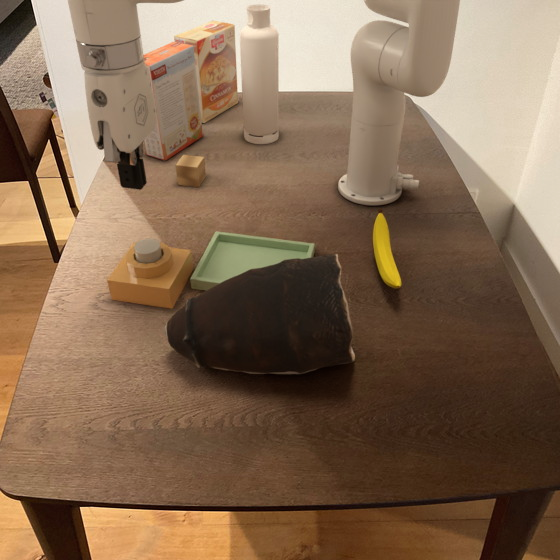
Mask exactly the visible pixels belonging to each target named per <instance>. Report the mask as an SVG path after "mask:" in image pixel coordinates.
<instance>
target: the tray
mask: <svg viewBox="0 0 560 560" xmlns="http://www.w3.org/2000/svg"><path fill="white" fill-rule="evenodd" d="M315 247H316V243H313V242H306V241H305V242H303V241H297V240H287V239H281V238H275V237H274V238H272V237H265V236H257V235H249V234H241V233H233V232H226V231H225V232H224V231H217V230H216V231H215V232H214V234H213V235H212V237H211V239H210V241H209V242H208V245H207V247H206V249H205V250H204V252H203V254H202V255H201V258H200V260H199V262H198V264H197V265H196V267H195V269H194V270H193V272H192V273H191V275H190V277H189V281H190V289H192V290H199V291H204V292H205V291H207V290H208V289H210V288H212V287H214V286H216V285H218V284H220V283H221V282H223V281H225V280H227V279H230V278H232V277H234V276H237V275H240V274H242V273H244V272H246V271H248V270H250V269H255V268H262V267H266V266H270V265H274V264H277V263H280V262H282V261H283V260H287V259H296V258H300V259H305V258H312V257H315V256H314V255H315V251H316V250H315Z"/></svg>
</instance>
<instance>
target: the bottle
mask: <svg viewBox="0 0 560 560" xmlns="http://www.w3.org/2000/svg"><path fill="white" fill-rule="evenodd" d="M246 13H247V21H246V24H247V25H245V26H243V28H242V29H240V33H239V52H240V74H241V75H240V77H241V78H240V79H241V96H242V97H241V98H242V99H241V101H242V122H243V123H242V124H243V139H244V140H245V141H246V142H248V143H250V144H253V145H254V144H255V145H268V144H271V143H274V142H276V141H278V139H279V138H280V137H279V136H280V130H279V124H280V123H279V119H280V118H279V114H280V113H279V112H280V111H279V107H280V106H279V103H280V101H279V100H280V99H279V98H280V97H279V92H280V91H279V83H280V82H279V81H280V79H279V73H280V71H279V32H278V29H276V28H275V27H274V26H273V25H271V6H269V5H267V4H251V5H248V6H246Z"/></svg>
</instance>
